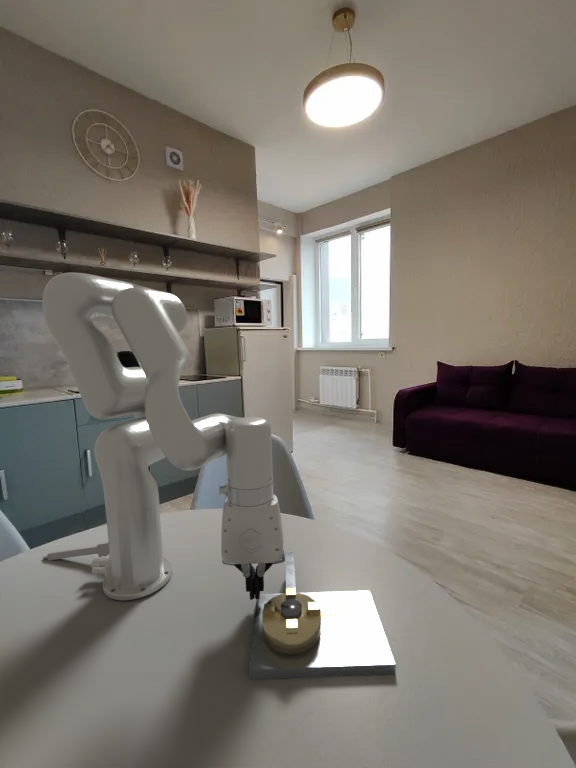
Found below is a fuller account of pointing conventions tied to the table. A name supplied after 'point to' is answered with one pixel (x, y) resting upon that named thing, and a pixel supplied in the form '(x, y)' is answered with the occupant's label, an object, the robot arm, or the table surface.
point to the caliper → (80, 552)
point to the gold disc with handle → (291, 617)
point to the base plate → (328, 641)
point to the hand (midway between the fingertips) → (255, 593)
